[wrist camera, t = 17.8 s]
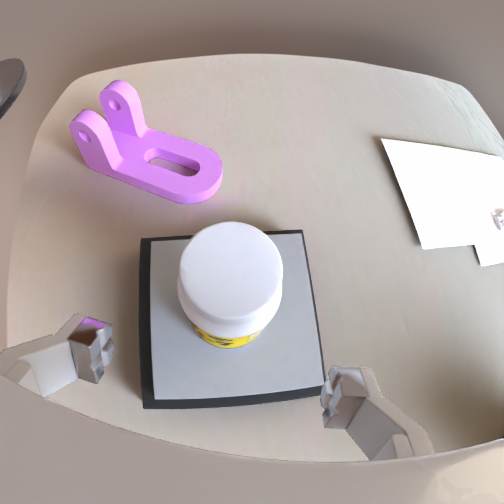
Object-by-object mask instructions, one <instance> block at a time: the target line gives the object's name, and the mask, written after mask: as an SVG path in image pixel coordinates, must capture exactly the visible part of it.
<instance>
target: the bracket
mask: <svg viewBox="0 0 504 504" xmlns="http://www.w3.org/2000/svg"><path fill="white" fill-rule="evenodd" d="M99 98H100V102H101V106H102V108H103V111H104V114H105V117H106V120H107V123H108V124H107V123H106V121H105V120H104V119H103V118H102V117H101V116H100V115H98V114H97V113H95V112H94V111H91V110H87V109H85V110H82V111H81V112H80V113H79V114H78V115H77V116H76V117H75V118H74V119H73V120H72V121H71V122H70V124H69V128H70V131H71V134H72V136H73V138H74V140H75V142H76V144H77V146H78V148H79V150H80V152H81V154H82V156H83V158H84V160H85V162H86V164H87V166H88V168H90V169H93V170H96V171H98V172H101V173H103V174H106V175H108V176H111V177H113V178H116V179H119V180H121V181H124V182H126V183H129V184H131V185H134V186H136V187H139V188H141V189H144V190H146V191H149V192H151V193H154V194H156V195H159V196H161V197H164V198H166V199H169V200H171V201H174V202H177V203H180V204H196V203H200V202H203V201H205V200H207V199H209V198H210V197H212V196H213V195H214V194H215V193H216V192H217V191H218V189H219V187H220V185H221V182H222V162H221V159H220V157H219V156H218V155H217V153H216V152H214V151H213V150H212V149H210V148H208V147H206V146H203V145H200V144H197V143H194V142H191V141H188V140H184V139H181V138H178V137H175V136H172V135H168V134H165V133H162V132H159V131H155V130H152V129H149V128H148V127H147V126H146V125H145V121H144V117H143V112H142V108H141V104H140V99H139V96H138V94H137V92H136V91H135V89H134V88H133V87H132V86H131V85H129V84H128V83H126V82H124V81H121V80H115V81H113V82H111V83H110V84H109V85H108V86H107V87H106V88H105V89H104V90H103V91H101V93H100V96H99ZM153 158H162V159H165V160H168V161H171V162H174V163H177V164H180V165H182V166H185V167H188V168H191V169H194V170H196V171H198V173H197V174H196V175H194V176H190V177H187V176H183V175H180V174H178V173H175V172H172V171H169V170H167V169H164V168H161V167H158V166H155V165H153V164H150V163H148V162H149V161H150V160H151V159H153Z"/></svg>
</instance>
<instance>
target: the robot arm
mask: <svg viewBox="0 0 504 504" xmlns="http://www.w3.org/2000/svg"><path fill="white" fill-rule="evenodd" d="M112 333H113V330H112V325H111V324H109V323H106V322H103V321H100V320H97V319H94V318H91V317H87V316H84V315H81V314H78V313H77V314H74V315H73V316H72V317H71V318H70V319H69V320H68V321H67V322H66V324H65V325H64V326H63V327H62V328H61V329H60V330H59V331H58V332H57V333H56V334H55V335H52V334H51V335H48V336H45V337H41V338H38V339H35V340H32V341H29V342H26V343H23V344H20V345H17V346H14V347H10V348H7V349H4V350H3V351H2V352H1V353H0V504H504V439H498V440H494V441H490V442H487V443H483V444H479V445H475V446H471V447H467V448H462V449H457V450H453V451H447V452H442V453H435V450H434V448H433V445H432V443H431V440H430V438H429V435H428V433H427V431H426V430H425V429H424V428H422V427H421V426H420V425H419V424H417V423H416V422H415V421H414V420H413V419H411V418H410V417H409V416H408V415H406V414H405V413H404V412H403V411H401V410H400V409H399V408H398V407H397V406H395V405H394V404H393V403H392V402H391V401H389V400H388V399H387V398H384V397H382V395H381V392H380V390H379V387H378V384H377V381H376V379H375V376H374V373H373V371H372V369H371V368H362V367H358V368H356V367H343V366H332V367H331V368H330V371H329V373H328V375H329V379H328V380H327V381H325V382H324V384H323V387H322V390H321V399H320V401H321V406H322V407H323V408H324V409H325V410H324V412H323V414H322V415H323V421H324V428H332V429H346V431H347V432H348V434H349V435H350V436H351V437H352V439H353V440H354V441H355V442H356V444H357V445H358V446H359V447H360V448H361V450H362V451H363V452H364V453H365V454H366V456H367V457H368V458H369V459H370V461H356V462H311V461H290V460H277V459H266V458H257V457H248V456H241V455H234V454H227V453H221V452H215V451H210V450H204V449H199V448H194V447H190V446H185V445H181V444H176V443H172V442H168V441H164V440H160V439H156V438H153V437H149V436H145V435H142V434H139V433H135V432H132V431H129V430H126V429H123V428H119V427H116V426H113V425H111V424H108V423H105V422H102V421H99V420H97V419H94V418H91V417H89V416H86V415H84V414H81V413H79V412H76V411H74V410H71V409H69V408H67V407H64V406H62V405H60V404H57V403H55V402H53V401H51V400H49V399H47V398H45V397H46V396H48V395H50V394H52V393H54V392H55V391H57V390H59V389H61V388H62V387H64V386H66V385H68V384H70V383H71V382H73V381H75V380H77V379H78V378H80V379H83V380H86V381H89V382H92V383H95V384H97V383H98V382H99V380H100V379H101V377H102V375H103V374H104V369H103V368H104V367H106V366H108V365H109V364H110V362H111V361H112V358H113V354H114V342H113V341H112V339H111V338H110V336H111V335H112Z"/></svg>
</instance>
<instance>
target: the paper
mask: <svg viewBox="0 0 504 504" xmlns="http://www.w3.org/2000/svg"><path fill="white" fill-rule="evenodd" d="M381 140H382V142H383V145H384V147H385V149H386V152H387V154H388V157H389V159H390V162H391V164H392V167H393V170H394V172H395V175H396V178H397V180H398V183H399V185H400V188H401V190H402V193H403V195H404V198H405V200H406V203H407V205H408V208H409V211H410V213H411V216H412V219H413V221H414V224H415V227H416V230H417V233H418V236H419V239H420V242H421V245H422V248H423V250H424V249H433V248H442V247H452V246H464V245H475V248H476V251H477V254H478V257H479V260H480V263H481V266H488V265H493V264H497V263H502V262H504V162H503V160H502V158H501V157H497V156H492V155H487V154H482V153H477V152H472V151H466V150H460V149H454V148H448V147H442V146H435V145H428V144H421V143H413V142H405V141H397V140H389V139H381Z"/></svg>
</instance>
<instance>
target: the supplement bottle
mask: <svg viewBox="0 0 504 504" xmlns="http://www.w3.org/2000/svg"><path fill="white" fill-rule="evenodd" d="M282 277H283V265H282V260H281V256H280V254H279V251H278V249H277V248H276V246H275V244H274V243H273V242H272V240H271V239H270V238H269V237H268V236H267V235H266V234H265V233H263V232H262V231H260V230H259V229H257V228H255V227H253V226H251V225H248V224H245V223H241V222H233V221H231V222H219V223H215V224H212V225H209V226H207V227H205V228H203V229H202V230H200V231H199V232H198V233H196V234H195V235H194V236H193V237H192V238H191V239H190V240H189V241H188V243H187V244H186V246H185V248H184V250H183V252H182V255H181V258H180V263H179V276H178V282H177V291H178V297H179V301H180V305H181V307H182V309H183V311H184V313H185V315H186V316H187V318H188V320H189V321H190V323H191V325H192V327H193V328H194V330H195V332H196V333H197V334H198V335H199V336H200V337H201V338H202V339H203V340H204V341H205V342H207V343H208V344H210V345H212V346H215V347H218V348H222V349H235V348H239V347H242V346H245V345H247V344H248V343H250V342H251V341H253V340H254V339H255V338H256V337H257V336H258V335H259V333H260V332H261V331H262V330H263V329H264V327H265V326H266V325H267V324H268V323H269V322H270V320H271V319H272V318H273V316H274V315H275V313H276V311H277V309H278V307H279V304H280V300H281V295H282Z"/></svg>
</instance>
